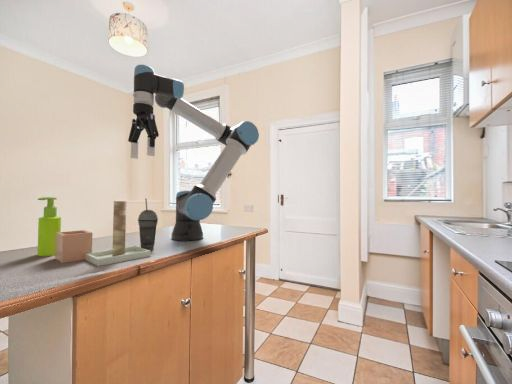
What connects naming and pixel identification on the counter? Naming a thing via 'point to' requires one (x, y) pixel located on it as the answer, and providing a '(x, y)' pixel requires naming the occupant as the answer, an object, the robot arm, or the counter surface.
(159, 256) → the counter surface
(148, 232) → the beverage cup
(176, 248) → the counter surface
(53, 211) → the soap dispenser
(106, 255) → the tray
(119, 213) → the dowel
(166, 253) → the counter surface
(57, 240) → the pot
